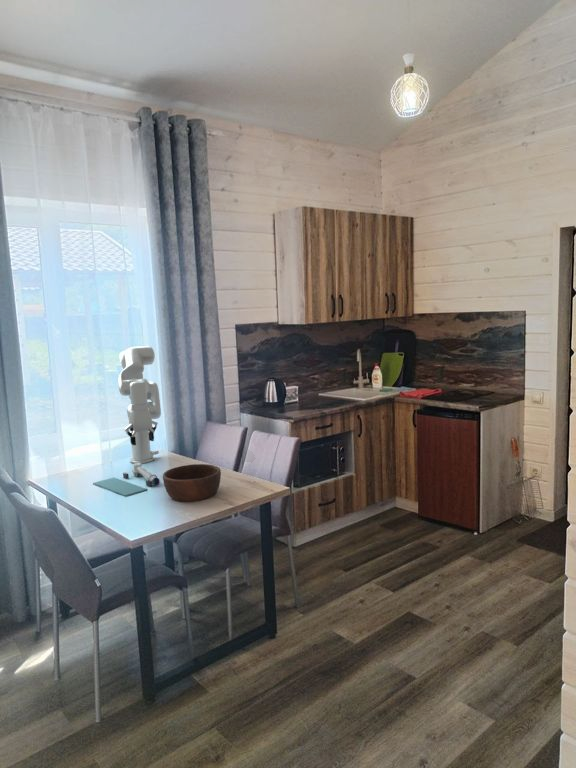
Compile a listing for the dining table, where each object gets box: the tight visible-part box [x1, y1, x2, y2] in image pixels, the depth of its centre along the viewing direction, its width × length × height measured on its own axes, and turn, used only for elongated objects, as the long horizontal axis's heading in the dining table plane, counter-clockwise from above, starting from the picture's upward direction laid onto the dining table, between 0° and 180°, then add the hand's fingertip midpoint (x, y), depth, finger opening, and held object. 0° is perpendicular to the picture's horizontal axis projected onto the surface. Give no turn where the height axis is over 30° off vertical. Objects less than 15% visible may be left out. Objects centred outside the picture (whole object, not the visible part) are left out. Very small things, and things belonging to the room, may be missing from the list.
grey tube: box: [131, 463, 161, 487], centre depth 280 cm, size 5×7×25 cm
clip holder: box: [122, 472, 153, 488], centre depth 280 cm, size 10×24×2 cm, turn 45°
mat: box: [92, 476, 148, 498], centre depth 271 cm, size 11×30×1 cm, turn 45°
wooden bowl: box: [162, 463, 222, 503], centre depth 255 cm, size 25×25×10 cm
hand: (142, 442), depth 278 cm, fingers open, 9 cm apart
